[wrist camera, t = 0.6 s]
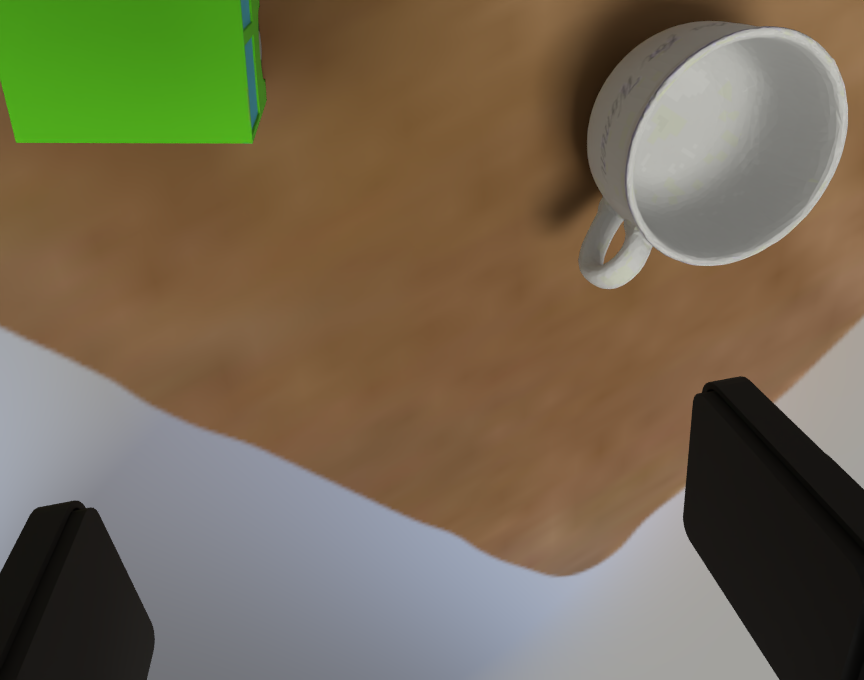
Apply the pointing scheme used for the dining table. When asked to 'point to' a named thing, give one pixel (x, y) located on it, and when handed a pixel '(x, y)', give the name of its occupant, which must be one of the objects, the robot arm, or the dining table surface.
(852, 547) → the robot arm
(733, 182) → the teacup
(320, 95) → the dining table surface
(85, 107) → the toy car
